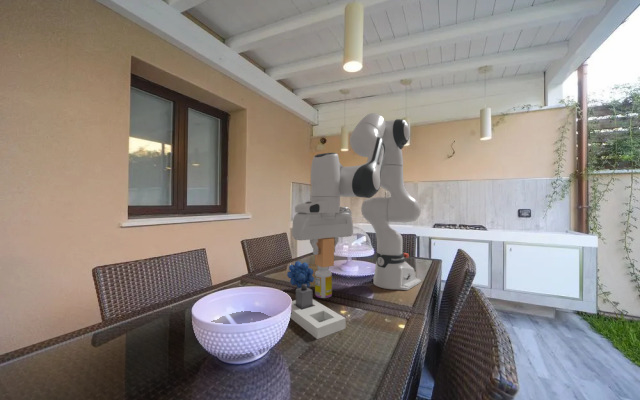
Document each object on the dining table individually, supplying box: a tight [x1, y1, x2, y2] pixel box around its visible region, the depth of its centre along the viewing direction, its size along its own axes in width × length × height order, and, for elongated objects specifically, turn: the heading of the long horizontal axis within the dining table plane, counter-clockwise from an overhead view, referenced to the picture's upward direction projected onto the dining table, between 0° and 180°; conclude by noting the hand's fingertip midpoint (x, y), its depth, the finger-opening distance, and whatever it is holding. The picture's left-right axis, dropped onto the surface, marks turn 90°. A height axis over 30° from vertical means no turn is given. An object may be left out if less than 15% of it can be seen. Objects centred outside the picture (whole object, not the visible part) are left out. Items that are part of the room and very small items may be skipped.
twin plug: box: [295, 284, 314, 310], centre depth 85 cm, size 4×4×10 cm
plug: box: [314, 238, 335, 268], centre depth 77 cm, size 4×4×10 cm
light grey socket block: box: [290, 298, 347, 340], centre depth 81 cm, size 10×20×4 cm, turn 35°
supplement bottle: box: [314, 265, 333, 299], centre depth 102 cm, size 7×7×13 cm
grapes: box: [286, 260, 315, 289], centre depth 110 cm, size 12×7×12 cm, turn 104°
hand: (324, 253), depth 77 cm, fingers closed on plug, 4 cm apart
